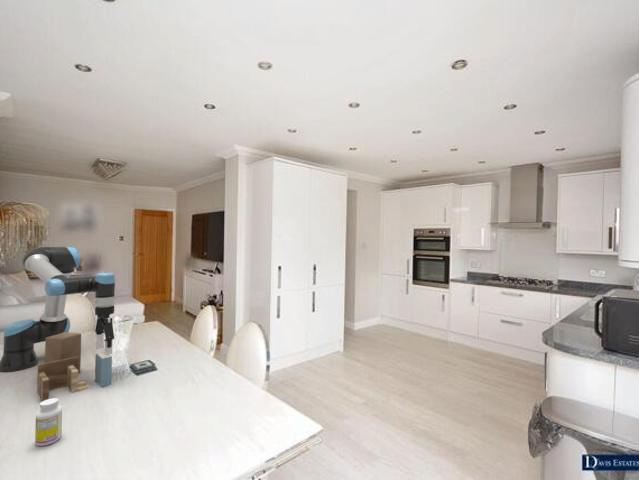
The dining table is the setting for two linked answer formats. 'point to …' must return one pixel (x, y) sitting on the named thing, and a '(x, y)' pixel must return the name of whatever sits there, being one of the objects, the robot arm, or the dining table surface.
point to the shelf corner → (53, 376)
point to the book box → (103, 369)
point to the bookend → (74, 380)
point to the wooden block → (63, 347)
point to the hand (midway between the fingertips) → (103, 351)
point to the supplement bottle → (48, 422)
